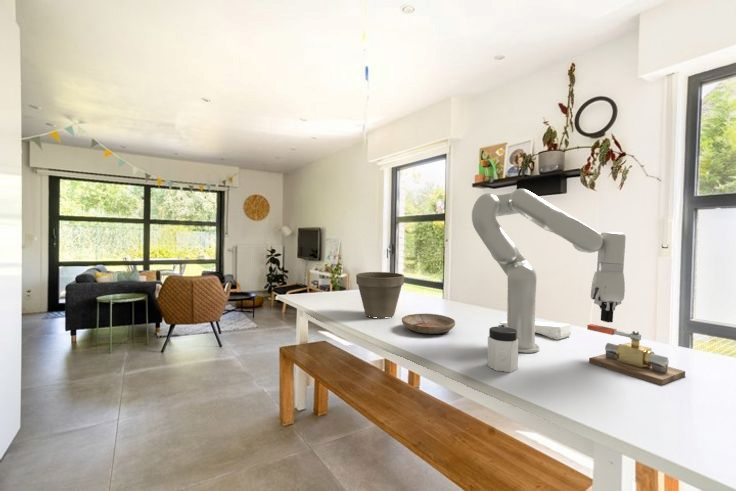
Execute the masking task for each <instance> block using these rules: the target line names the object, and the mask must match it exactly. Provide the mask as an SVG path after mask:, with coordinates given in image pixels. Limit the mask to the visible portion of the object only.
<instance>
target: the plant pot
mask: <svg viewBox="0 0 736 491" xmlns="http://www.w3.org/2000/svg"><path fill="white" fill-rule="evenodd" d="M355 276H356V284H357V285H358V290H359V295H360V298H361V303H362V307H363V309H364V310H363V311H364V314H365V316H366V315H367V316H370V317H377V318H385V317H391V316H393V317H394V315H395V313H396V309H397V305H398V302H399V298H400V294H401V290H402V286H403V285H404V282H405V275H404V274H403V273H399V272H391V271H390V272H388V271H367V272H359V273H356V274H355ZM367 316H366V317H367ZM391 318H392V317H391Z"/></svg>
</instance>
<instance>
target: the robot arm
mask: <svg viewBox="0 0 736 491" xmlns="http://www.w3.org/2000/svg"><path fill="white" fill-rule="evenodd" d="M516 214H519V215H521V216H522V217H525V218H526V219H527V220H529V221H530V222H532V223H533V224H535V225H537V226H538V227H539V228H541V229H543V230H545V231H548V232H550V233H553V234H555V235H557V236H559V237H561V238H562V239H564V240H565V241H568V242H569V243H571V244H572V246H573V248H574V249H576V250H577V251H579V252H581V253H589V254H591V253H596V252H597V261H596V262H597V263H596V271H594V274H593V278H592V281H591V282H592V283H591V287H590V288H591V289H590V298H591V299H592V300H593V304H594V305H597V306H599V309H600V310H601V311H600V321H602V322H605V323H613V319H614V311H616V307H617V306H619V305H621V304H622V301H624V299H625V292H626V287H625V283H626V282H625V274H624V266H625V253H626V240H627V239H626V235H625V233H623V232H616V231H612V232H611V231H604V232H598V231H597V230H596V229H594V228H592V227H590V226H589V225H587V224H585V223H584V222H582V221H580V220H579V219H577V218H575V217H574V216H571V215H570V214H568V213H566V212H565V211H563V210H561V209H559V208H558V207H556V206H554V205H553V204H551V203H549V202H548V201H546V200H544V199H543V198H541V197H540V196H538V195H537V194H535V193H533V192H531V191H530V190H528V189H526V188H518V189H515V190H514V191H512V192H511V193H504V194H497V195H496V194H493V193H488V192H487V193H484V194H481V195H480V196H479V197H478V198H477V199H476V201H475V202H474V204H473V207H472V211H471V221H472V223H471V224H472V225H473V228H474V230H475V232H476V233H477V236H479V238H480V239H481V241H482V243H483V244H484V245H485V247H486V248H487V250H488V251H489V253H490V254H491V256H492V258H493V260H494V261H495V262H497V264H498V265H499V267H500V268H501V269H502V271H503V273H505V275H506V276H507V293H506V294H507V296H506V297H507V298H506V299H507V300H506V301H507V302H506V305H507V306H506V308H507V309H506V311H507V314H506V319H507V320H506V321H507V327H508V328H512V329H515V330H516V331H517V339H518V353H525V354H528V353H529V354H531V353H537V352H539V351H540V346H539V344H537V343H536V341H535V340H536V332H535V322H536V292H537V273H536V271H535V268H534V267H533V266H532V265H531V264H530V262H529V261H528V260H527V258H526V257H525V256H524V255H523V253H522V252H521V251H520V249H519V248H518V247H517V245H516V243H515V242H514V241H513V240H512V239H511V238H510V237H509V236H508V235H507V233H506V232H505V231H504V229H503V228H502V226H501V224H500V223H499V221H498V220H497V217H502V216H509V215H510V216H511V215H516ZM591 299H590V300H591Z"/></svg>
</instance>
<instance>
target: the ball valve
mask: <svg viewBox="0 0 736 491" xmlns="http://www.w3.org/2000/svg"><path fill="white" fill-rule="evenodd" d="M630 342H631V343H630ZM630 342H625V343H620V344H614V343H610V342H607V343H606V344H605V347H604V348H605V349H604V350H605V354H606V358H608V359H612V360H615V359H619V361H620V362H624V363H627V364H631V365H634V366H638V367H641V368H643V367H646V366H652V371H654V372H657V373H661V374H662V373H665V372H667V369H668V367H669V358H668V357H666V356H663V355H659V354H655V352H654V351H652V350H653V349H652V347H648V346H643V345H640V340H633V339H630Z"/></svg>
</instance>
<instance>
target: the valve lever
mask: <svg viewBox="0 0 736 491" xmlns="http://www.w3.org/2000/svg"><path fill="white" fill-rule="evenodd" d="M586 326H587V331H588V330H589V331H593V332H597V333H602V334H607V335H610V336H615V335H617V336H620V337H625V338H629V339H630V340H631V339H633V340H639V341H641V340H642V334H640V332H639V331H636V330H633V331H632V332H631V333H629V332H626V331H621V330H617V328H612V327H607V326H603V325H597V324H593V323H589V324H587V325H586Z"/></svg>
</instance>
